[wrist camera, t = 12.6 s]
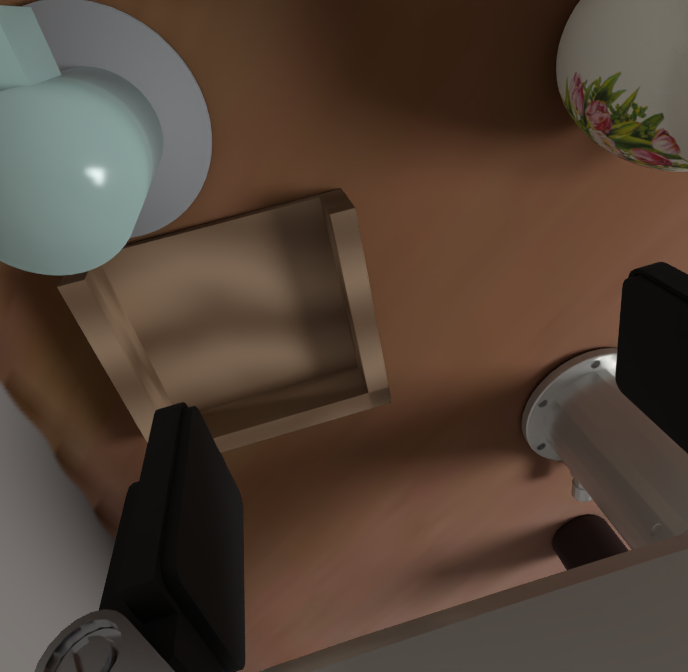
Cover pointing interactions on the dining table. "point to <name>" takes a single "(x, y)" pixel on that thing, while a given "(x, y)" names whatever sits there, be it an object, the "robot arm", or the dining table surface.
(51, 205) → the jug
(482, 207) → the dining table surface
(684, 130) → the pitcher
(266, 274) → the holder
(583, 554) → the bottle
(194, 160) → the mat
